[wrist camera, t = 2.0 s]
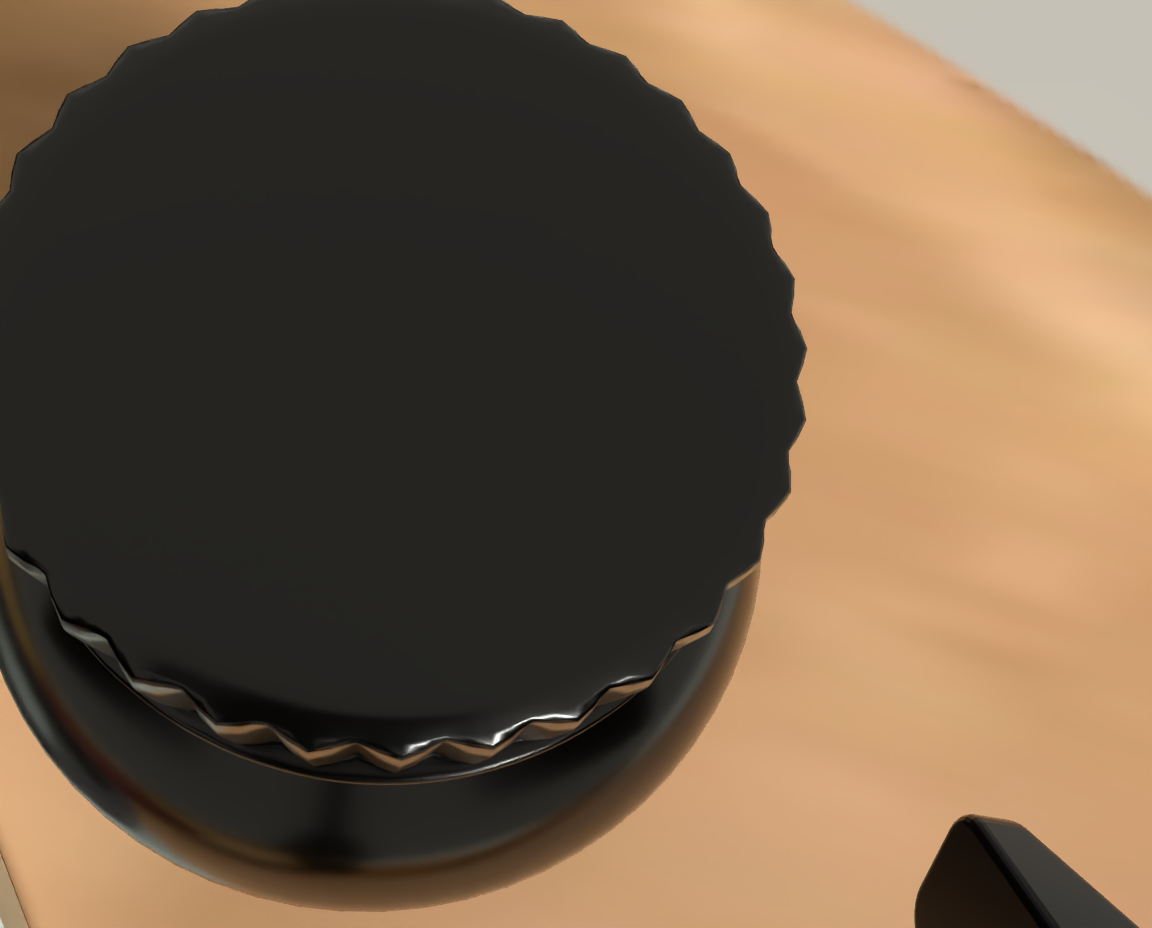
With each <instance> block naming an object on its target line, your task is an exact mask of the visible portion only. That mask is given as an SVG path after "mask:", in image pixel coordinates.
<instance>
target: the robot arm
mask: <svg viewBox="0 0 1152 928" xmlns="http://www.w3.org/2000/svg"><path fill="white" fill-rule="evenodd" d="M915 928H1139V927H1138V926H1137V925H1136V924H1134V923H1133V922H1132V921H1131V920H1130V919H1129V918H1128V917H1126V916H1125V915H1124V914H1123V913H1122V912H1121V911H1120V910H1118V909H1117V908H1116V907H1115V906H1114V905H1113V904H1112V903H1110V902H1109V901H1108V900H1107V899H1106V898H1105V897H1104V896H1102V895H1101V894H1100V893H1099V892H1098V891H1097V890H1096V889H1094V888H1093V887H1092V886H1091V885H1090V884H1089V883H1088V882H1086V881H1085V880H1084V879H1083V878H1082V877H1081V876H1080V875H1078V874H1077V873H1076V872H1075V871H1074V870H1073V869H1072V868H1070V867H1069V866H1068V865H1067V864H1066V863H1065V862H1064V861H1062V860H1061V859H1060V858H1059V857H1058V856H1057V855H1056V854H1055V853H1053V852H1052V851H1051V850H1050V849H1049V848H1048V847H1047V846H1045V845H1044V844H1043V843H1042V842H1041V841H1040V840H1039V839H1037V838H1036V837H1035V836H1034V835H1033V834H1032V833H1031V832H1029V831H1028V830H1027V829H1026V828H1025V827H1023V826H1022V825H1020V824H1018V823H1016V822H1014V821H1010V820H1005V819H999V818H993V817H986V816H980V815H974V814H970V815H964V816H962V817H960V818H959V819H958V820H957V821H955V822H954V824H953V825H952V827H951V828H950V830H949V832H948V834H947V836H946V838H945V840H944V842H943V844H942V846H941V848H940V849H939V851H938V853H937V855H936V857H935V859H934V861H933V863H932V865H931V867H930V869H929V871H928V873H927V875H926V877H925V879H924V881H923V882H922V884H921V886H920V889H919V891H918V894H917V898H916V903H915Z"/></svg>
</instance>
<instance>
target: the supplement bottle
mask: <svg viewBox="0 0 1152 928" xmlns="http://www.w3.org/2000/svg"><path fill="white" fill-rule="evenodd" d="M771 232H772V229H771V224H770V219H769V214H768V212H767V211H766V210H765V209H764V208H763V206H762V205H761V204H760V203H759V202H758V201H757V200H756V199H755V198H754V197H753V196H752V195H751V194H750V193H749V192H748V191H746V190H745V189H744V188H743V187H742V186H741V184H740V182H739V179H738V176H737V170H736V167H735V165H734V162H733V160H732V157H731V155H730V153H729V152H728V151H726V150H725V149H724V148H723V147H721V146H720V145H719V144H717V143H716V142H715V141H713V140H712V139H710V138H709V137H707V136H706V135H704V134H703V133H702V132H700V131H699V130H698V128H697V126H696V124H695V122H694V120H693V118H692V116H691V114H690V113H689V111H688V110H687V108H686V106H685V105H684V103H683V102H682V100H680V99H678V98H676V97H674V96H673V95H671V94H669V93H667V92H665V91H663V90H661V89H659V88H657V87H655V86H653V85H651V84H649V83H647V82H646V80H645V79H644V78H643V77H642V76H641V75H640V73H639V71H638V69H637V68H636V67H635V66H634V65H633V64H632V63H631V61H630V60H629V59H628V58H627V57H626V56H624V55H621V54H619V53H616V52H613V51H610V50H607V49H604V48H601V47H598V46H594V45H591V44H589V43H588V42H586V41H585V40H584V39H583V38H581V37H580V36H579V34H578V33H577V32H576V31H575V30H573V29H572V28H571V27H570V26H568V25H567V24H566V23H565V22H563V21H562V20H557V19H551V18H546V17H539V16H532V15H525V14H523V13H521V12H520V11H518V10H516V9H515V8H513V7H512V6H511V5H509V4H508V3H506V2H504V1H503V0H248V1H247V2H245V3H243V4H242V5H240V6H239V7H233V8H225V9H208V10H201V11H196V12H195V13H193V14H192V15H191V16H190V17H188V18H187V19H186V20H185V21H183V22H182V23H181V24H180V25H179V26H178V27H177V28H176V29H175V30H174V31H173V32H172V33H171V34H170V35H168V36H163V37H159V38H155V39H151V40H147V41H144V42H141V43H137V44H134V45H131V46H128V47H127V48H126V49H125V51H124V52H123V53H122V54H121V55H120V57H119V58H118V59H117V60H116V62H115V63H114V65H113V66H112V68H111V69H110V71H109V72H108V74H107V75H106V76H105V77H103V78H101V79H99V80H97V81H95V82H93V83H90V84H87V85H84V86H82V87H80V88H78V89H77V90H75V91H73V92H71V93H69V94H67V96H66V97H65V99H64V101H63V103H62V105H61V107H60V109H59V111H58V114H57V116H56V119H55V122H54V124H53V127H52V128H51V129H50V130H49V131H47V132H46V133H44V134H43V135H41V136H40V137H38V138H37V139H35V140H34V141H32V142H31V143H30V144H29V145H27V146H26V147H25V148H24V149H22V150H21V151H20V152H18V153H17V154H16V158H15V162H14V166H13V169H12V175H11V183H10V191H9V192H8V193H7V195H6V196H5V197H4V198H3V199H2V200H1V202H0V670H1V673H2V676H3V679H4V681H5V684H6V686H7V688H8V690H9V692H10V694H11V695H12V697H13V699H14V701H15V703H16V705H17V707H18V709H19V711H20V713H21V715H22V717H23V719H24V721H25V722H26V724H27V725H28V727H29V728H30V730H31V731H32V733H33V735H34V736H35V738H36V739H37V741H38V742H39V744H40V745H41V747H42V748H43V750H44V751H45V753H46V754H47V756H48V757H49V758H50V759H51V760H52V762H53V763H54V764H55V765H56V766H57V768H58V769H59V770H60V771H61V772H62V774H63V775H64V776H65V777H66V778H67V780H68V781H69V782H70V783H71V784H72V786H73V787H74V788H75V789H76V790H77V791H78V792H79V793H80V794H82V795H83V796H84V797H85V798H86V799H87V800H88V801H89V802H90V803H91V804H92V805H93V806H94V807H95V808H96V809H97V810H98V811H99V812H100V813H101V814H102V815H103V816H104V817H106V818H107V819H108V820H110V821H111V822H112V823H114V824H115V825H116V826H118V827H119V828H120V829H121V830H123V831H124V832H125V833H127V834H128V835H129V836H131V837H132V838H133V839H134V840H136V841H137V842H138V843H140V844H142V845H143V846H145V847H147V848H148V849H150V850H152V851H153V852H155V853H157V854H158V855H160V856H162V857H163V858H165V859H166V860H168V861H170V862H171V863H173V864H175V865H177V866H179V867H181V868H183V869H185V870H188V871H190V872H192V873H194V874H196V875H198V876H200V877H203V878H205V879H207V880H209V881H211V882H213V883H216V884H219V885H222V886H225V887H228V888H231V889H234V890H237V891H240V892H243V893H246V894H248V895H251V896H254V897H258V898H263V899H267V900H272V901H276V902H281V903H285V904H290V905H294V906H299V907H308V908H317V909H325V910H334V911H367V912H385V911H395V910H406V909H417V908H426V907H431V906H436V905H442V904H447V903H452V902H457V901H462V900H467V899H470V898H473V897H476V896H480V895H483V894H486V893H489V892H493V891H496V890H499V889H502V888H506V887H508V886H511V885H513V884H515V883H518V882H520V881H523V880H525V879H527V878H530V877H532V876H534V875H537V874H539V873H541V872H544V871H546V870H548V869H549V868H551V867H553V866H555V865H557V864H558V863H560V862H562V861H564V860H566V859H568V858H569V857H571V856H573V855H575V854H577V853H578V852H580V851H582V850H583V849H585V848H586V847H588V846H589V845H590V844H592V843H593V842H595V841H596V840H598V839H599V838H601V837H602V836H604V835H605V834H606V833H608V832H609V831H611V830H612V829H614V828H615V827H616V826H617V825H618V824H619V823H621V822H622V821H623V820H624V819H625V818H627V817H628V816H629V815H630V814H631V813H632V812H634V811H635V810H636V809H637V808H638V807H639V806H641V805H642V804H643V803H644V802H645V801H646V800H647V799H648V798H649V797H650V796H651V795H652V794H653V793H654V792H655V791H656V790H657V788H658V787H659V786H660V785H661V784H662V783H663V782H664V781H665V780H666V779H667V778H668V777H669V776H670V775H671V774H672V772H673V771H674V770H675V768H676V767H677V766H678V765H679V763H680V762H681V761H682V760H683V758H684V757H685V756H686V754H687V753H688V752H689V751H690V749H691V748H692V747H693V745H694V744H695V742H696V741H697V739H698V738H699V736H700V734H701V733H702V731H703V730H704V728H705V727H706V725H707V723H708V722H709V720H710V719H711V717H712V716H713V714H714V712H715V710H716V708H717V706H718V704H719V702H720V700H721V698H722V696H723V694H724V692H725V690H726V688H727V686H728V684H729V682H730V680H731V678H732V676H733V673H734V670H735V668H736V665H737V662H738V660H739V657H740V655H741V652H742V649H743V647H744V644H745V641H746V637H747V633H748V630H749V626H750V622H751V619H752V615H753V611H754V607H755V601H756V595H757V589H758V583H759V577H760V567H761V555H762V550H763V545H764V528H765V523H766V521H767V520H769V519H770V518H771V517H772V516H773V515H774V514H775V513H776V512H777V511H778V510H779V508H780V507H781V506H782V505H783V504H784V502H785V501H786V500H787V499H788V497H789V495H790V493H791V470H790V466H789V450H790V449H791V447H792V446H793V445H794V443H795V442H796V440H797V438H798V437H799V434H800V432H801V430H802V428H803V426H804V424H805V422H806V417H805V411H804V406H803V401H802V397H801V394H800V391H799V387H798V384H797V380H798V377H799V374H800V372H801V369H802V367H803V363H804V359H805V355H806V351H807V347H806V344H805V342H804V339H803V336H802V334H801V331H800V329H799V328H798V326H797V325H796V323H795V321H794V318H793V315H792V313H791V312H792V306H793V299H794V283H795V278H794V277H793V275H792V273H791V272H790V270H789V269H788V267H787V265H786V264H785V262H784V261H783V260H782V259H781V258H780V257H779V256H778V254H777V252H776V251H775V249H774V248H773V245H772V239H771Z"/></svg>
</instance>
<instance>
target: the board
mask: <svg viewBox="0 0 1152 928" xmlns="http://www.w3.org/2000/svg"><path fill="white" fill-rule="evenodd" d="M0 928H29V927H28V925H27V922H26V919H25V917H24V914H23V911H22V909H21V906H20V904H19V901H18V898H17V896H16V893H15V890H14V888H13V885H12V883H11V880H10V877H9V875H8V872H7V869H6V867H5V864H4V861H3V859H2V856H1V854H0Z"/></svg>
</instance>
